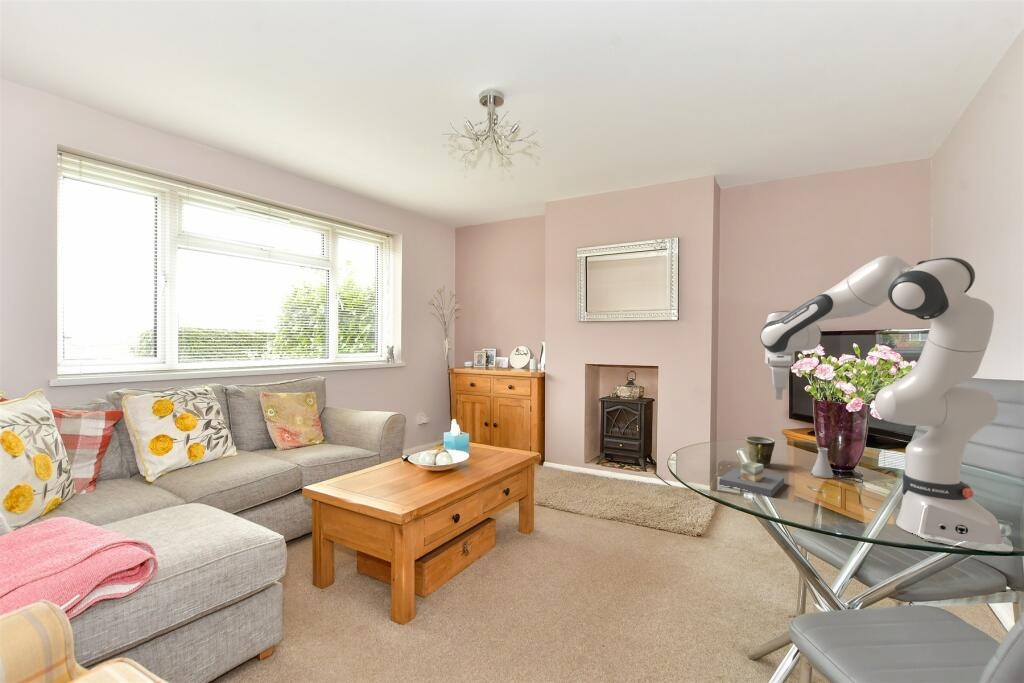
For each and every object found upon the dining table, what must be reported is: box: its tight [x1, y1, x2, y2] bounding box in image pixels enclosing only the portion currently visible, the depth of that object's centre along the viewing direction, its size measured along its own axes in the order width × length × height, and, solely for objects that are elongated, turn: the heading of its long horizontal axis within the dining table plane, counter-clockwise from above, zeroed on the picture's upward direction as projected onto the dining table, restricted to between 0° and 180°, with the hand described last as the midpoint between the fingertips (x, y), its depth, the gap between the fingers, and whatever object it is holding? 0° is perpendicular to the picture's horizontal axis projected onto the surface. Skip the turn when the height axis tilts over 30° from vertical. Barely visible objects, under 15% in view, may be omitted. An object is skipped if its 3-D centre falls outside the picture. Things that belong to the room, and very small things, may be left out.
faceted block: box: [740, 460, 764, 483], centre depth 163 cm, size 5×5×6 cm
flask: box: [810, 447, 835, 479], centre depth 171 cm, size 7×7×10 cm
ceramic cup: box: [745, 435, 776, 469], centre depth 183 cm, size 13×10×10 cm
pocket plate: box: [718, 467, 785, 498], centre depth 163 cm, size 16×16×2 cm
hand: (778, 399), depth 164 cm, fingers closed
